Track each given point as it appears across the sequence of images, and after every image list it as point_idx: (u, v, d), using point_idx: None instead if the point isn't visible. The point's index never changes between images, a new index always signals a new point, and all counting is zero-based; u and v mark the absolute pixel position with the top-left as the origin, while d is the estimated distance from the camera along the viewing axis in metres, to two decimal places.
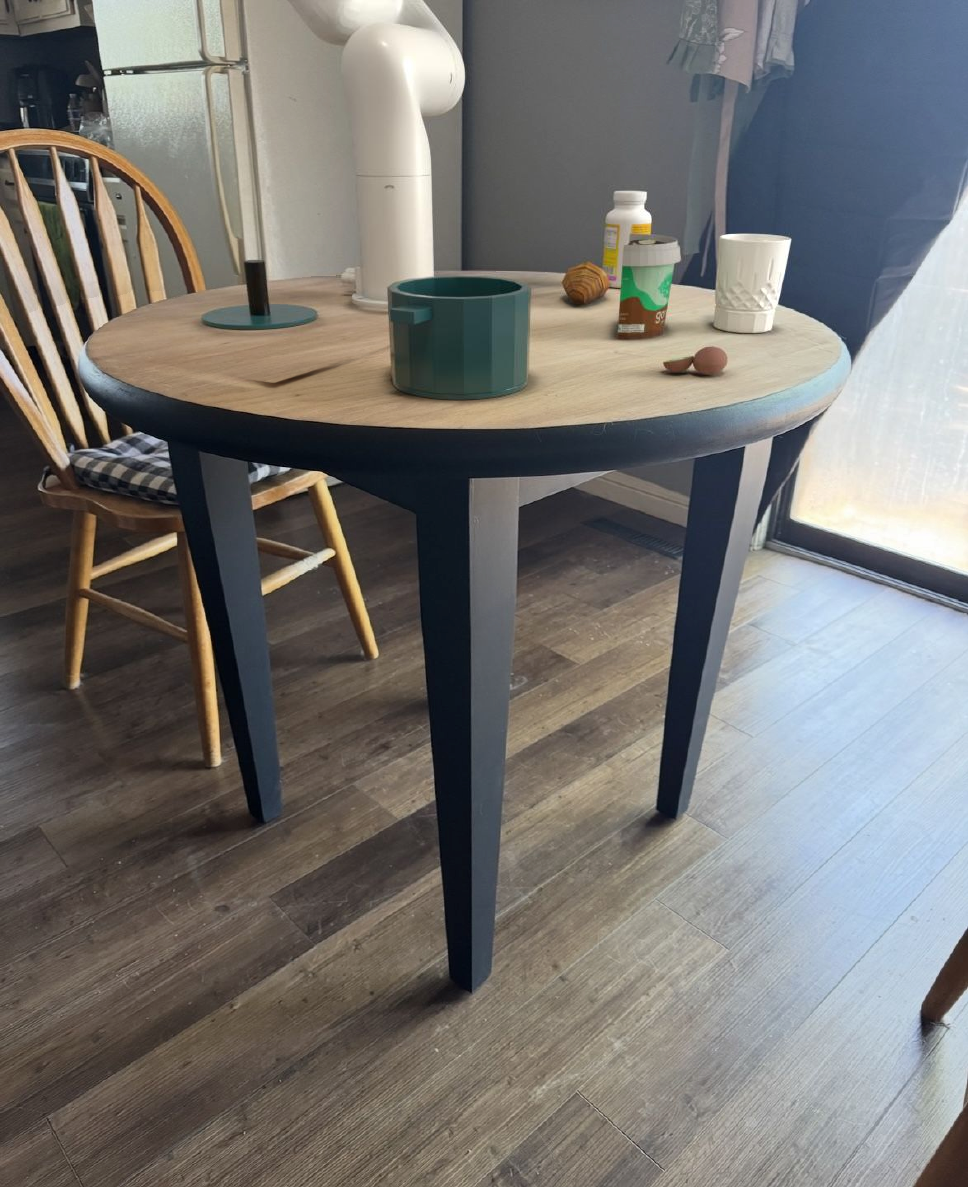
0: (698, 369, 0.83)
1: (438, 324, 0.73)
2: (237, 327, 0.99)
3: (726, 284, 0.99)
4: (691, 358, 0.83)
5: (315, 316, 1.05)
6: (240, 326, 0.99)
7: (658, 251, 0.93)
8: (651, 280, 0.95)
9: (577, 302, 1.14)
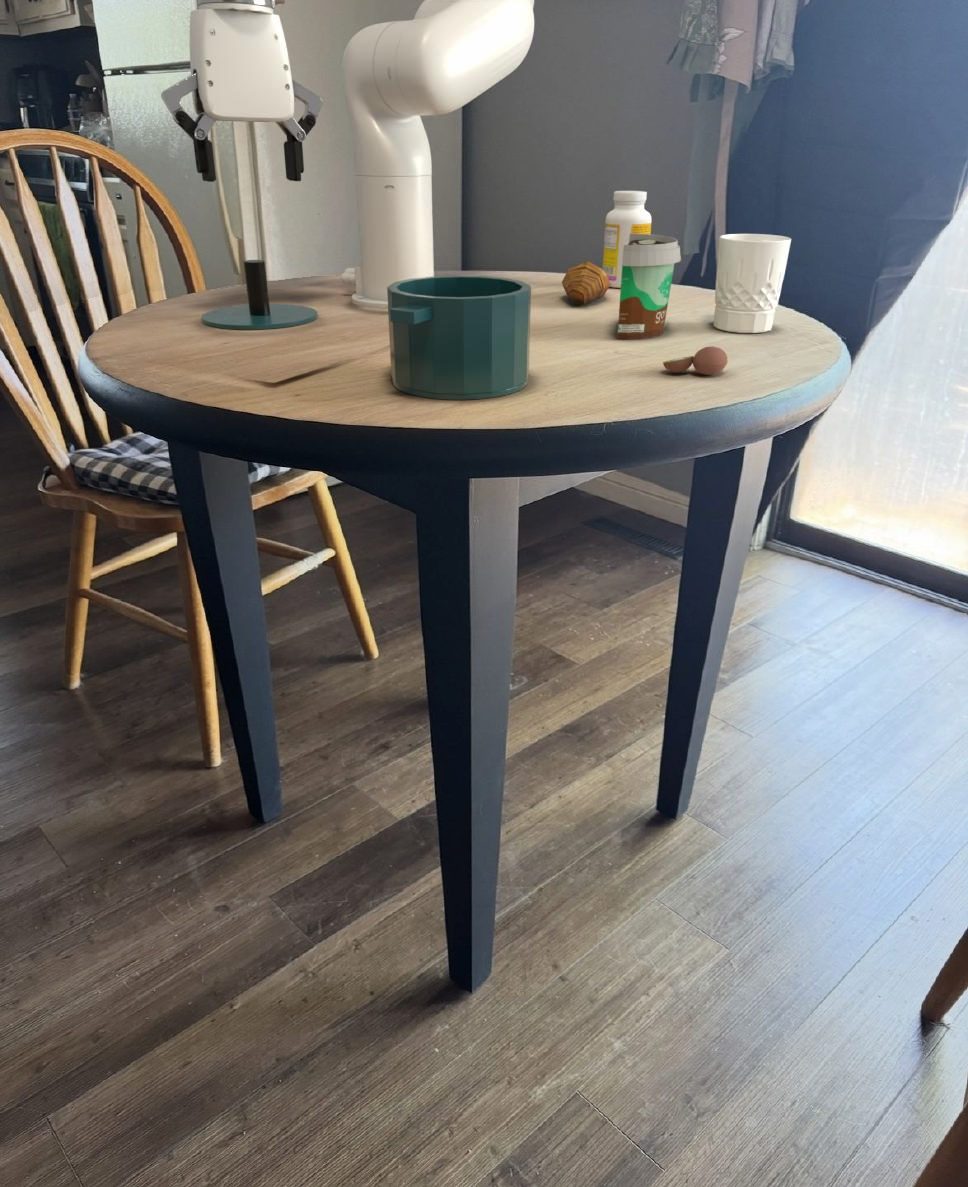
0: (698, 369, 0.83)
1: (438, 324, 0.73)
2: (237, 327, 0.99)
3: (726, 284, 0.99)
4: (691, 358, 0.83)
5: (315, 316, 1.05)
6: (240, 326, 0.99)
7: (658, 251, 0.93)
8: (651, 280, 0.95)
9: (577, 302, 1.14)
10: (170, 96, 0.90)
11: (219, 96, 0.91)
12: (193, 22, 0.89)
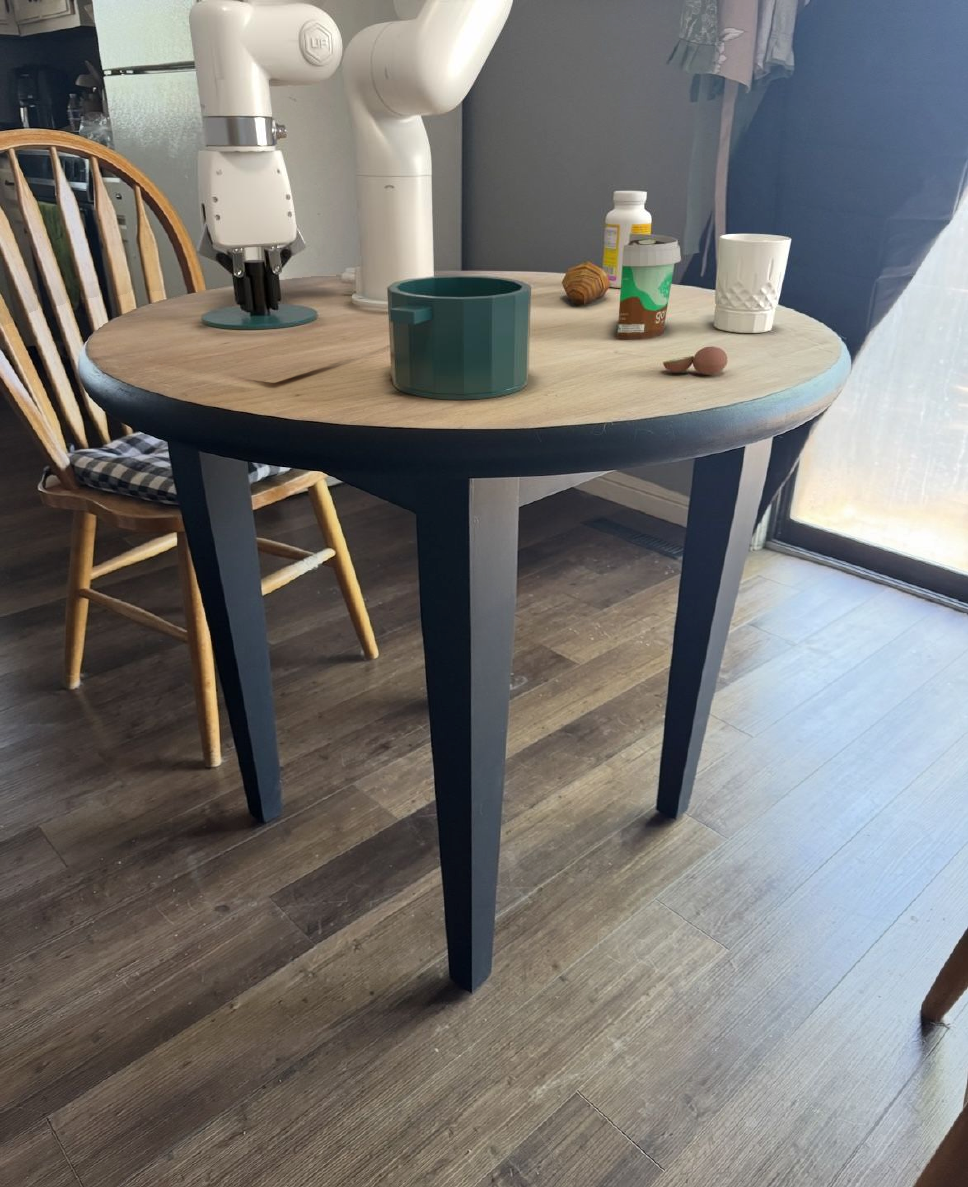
0: (698, 369, 0.83)
1: (438, 324, 0.73)
2: (237, 327, 0.99)
3: (726, 284, 0.99)
4: (691, 358, 0.83)
5: (315, 316, 1.05)
6: (240, 326, 0.99)
7: (658, 251, 0.93)
8: (651, 280, 0.95)
9: (577, 302, 1.14)
10: (205, 250, 0.99)
11: (226, 228, 0.97)
12: (200, 162, 0.95)
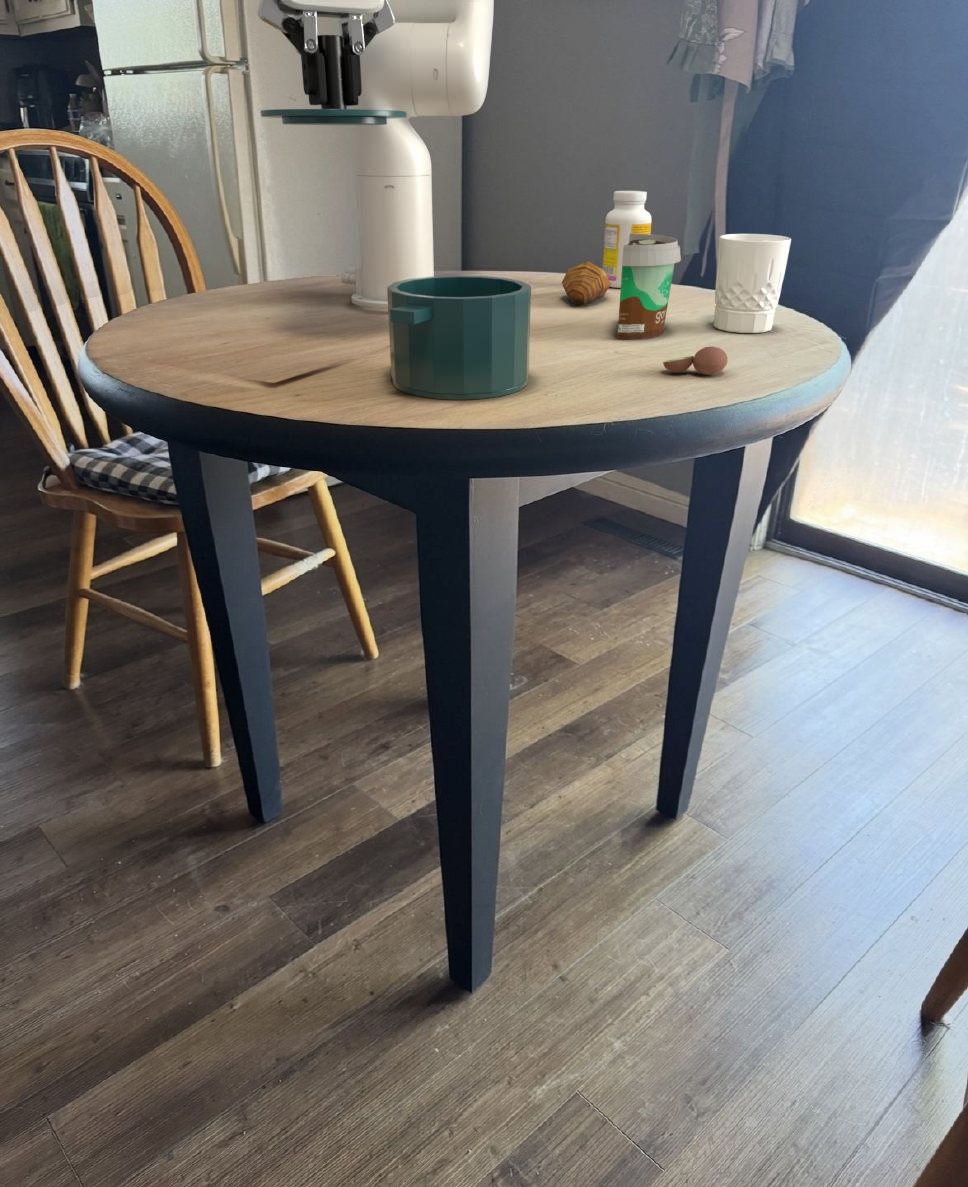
0: (698, 369, 0.83)
1: (438, 324, 0.73)
2: (308, 112, 0.77)
3: (726, 284, 0.99)
4: (691, 358, 0.83)
5: (404, 113, 0.82)
6: (312, 110, 0.77)
7: (658, 251, 0.93)
8: (651, 280, 0.95)
9: (577, 302, 1.14)
10: (269, 11, 0.76)
11: None
12: None
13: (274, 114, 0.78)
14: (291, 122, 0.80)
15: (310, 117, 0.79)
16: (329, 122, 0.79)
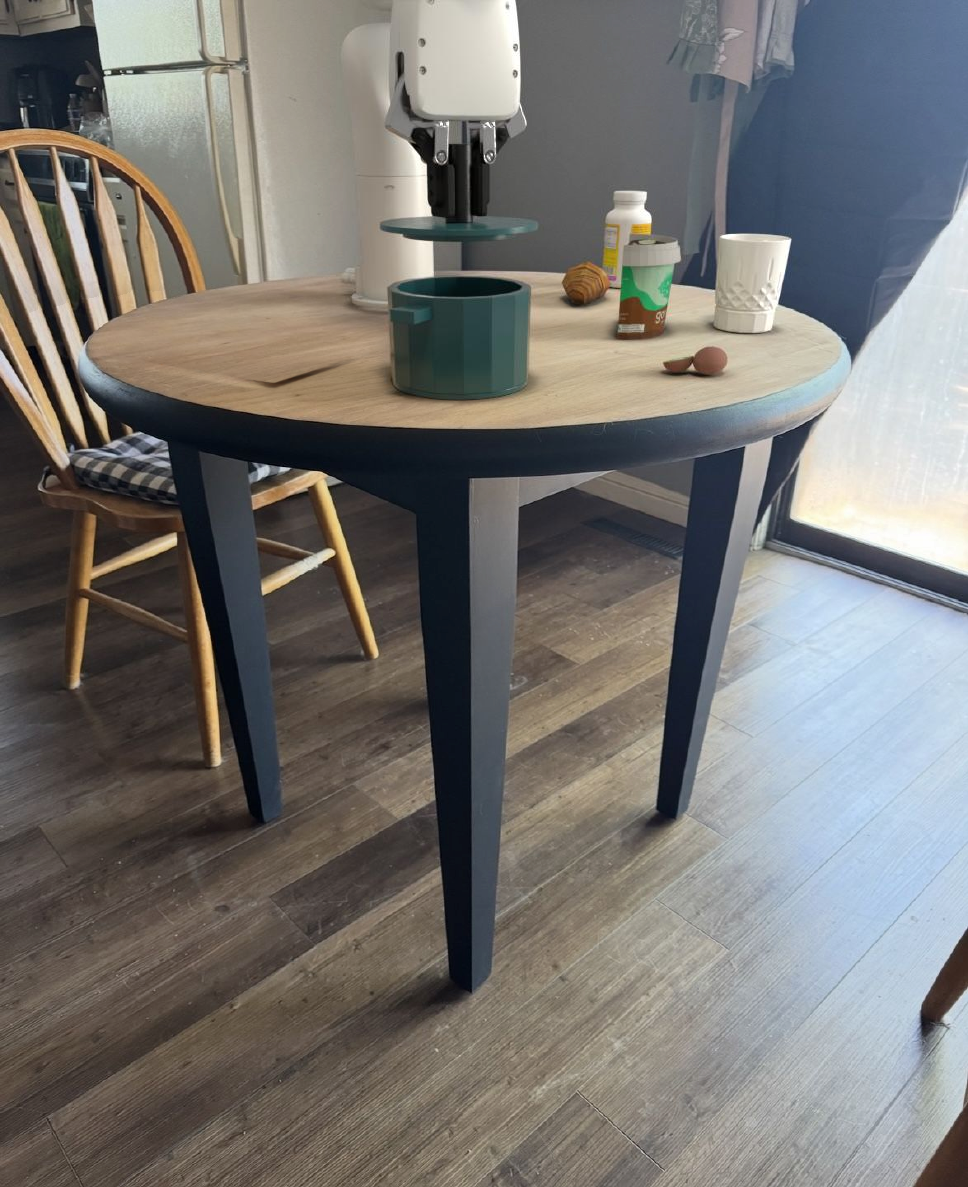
0: (698, 369, 0.83)
1: (438, 324, 0.73)
2: (443, 233, 0.69)
3: (726, 284, 0.99)
4: (691, 358, 0.83)
5: None
6: (447, 231, 0.69)
7: (658, 251, 0.93)
8: (651, 280, 0.95)
9: (577, 302, 1.14)
10: (398, 122, 0.69)
11: (432, 88, 0.67)
12: None
13: (401, 232, 0.71)
14: (417, 238, 0.72)
15: None
16: (461, 240, 0.71)
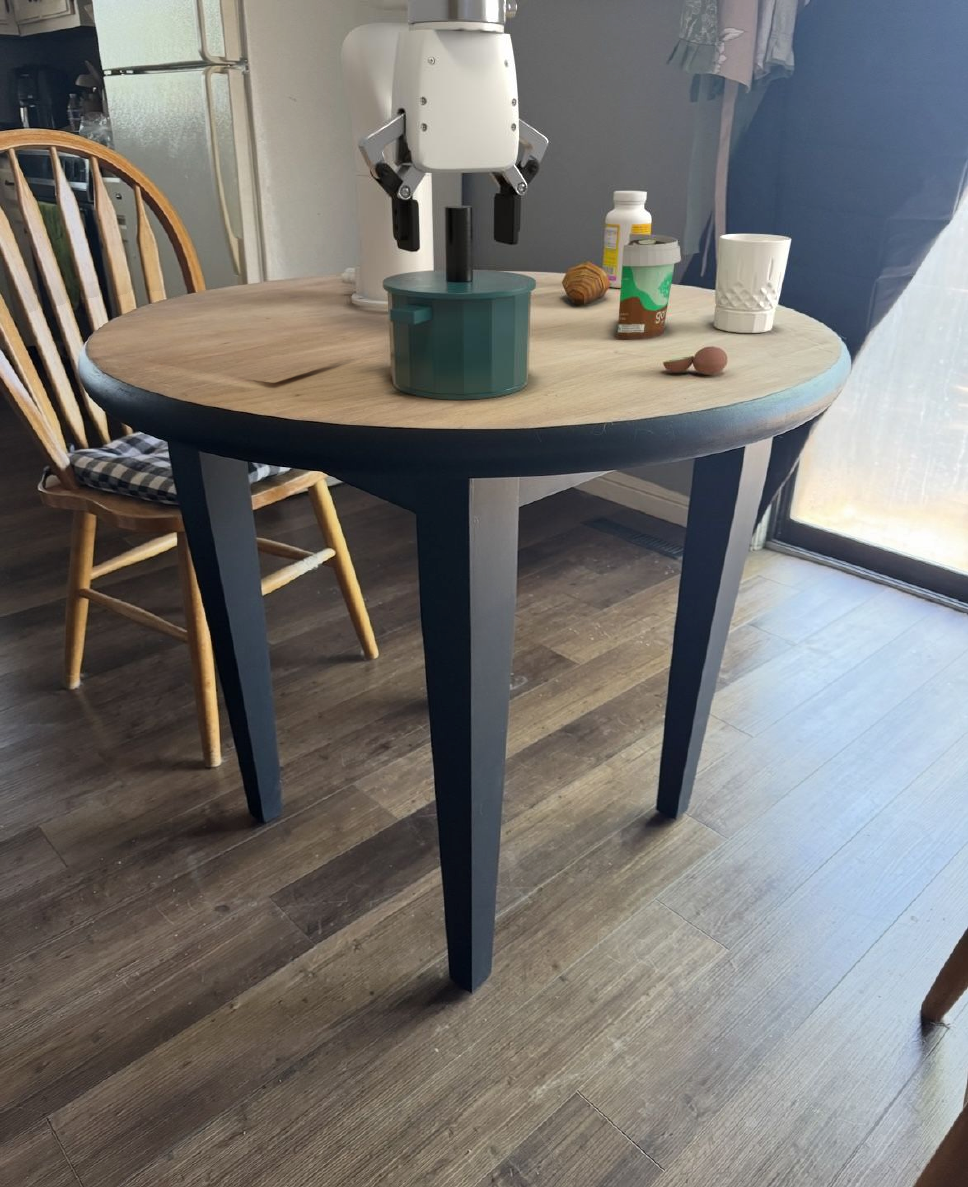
0: (698, 369, 0.83)
1: (438, 324, 0.73)
2: (444, 296, 0.72)
3: (726, 284, 0.99)
4: (691, 358, 0.83)
5: (535, 283, 0.77)
6: (448, 295, 0.72)
7: (658, 251, 0.93)
8: (651, 280, 0.95)
9: (577, 302, 1.14)
10: (372, 145, 0.69)
11: (433, 143, 0.69)
12: (403, 47, 0.67)
13: (403, 294, 0.73)
14: None
15: None
16: None
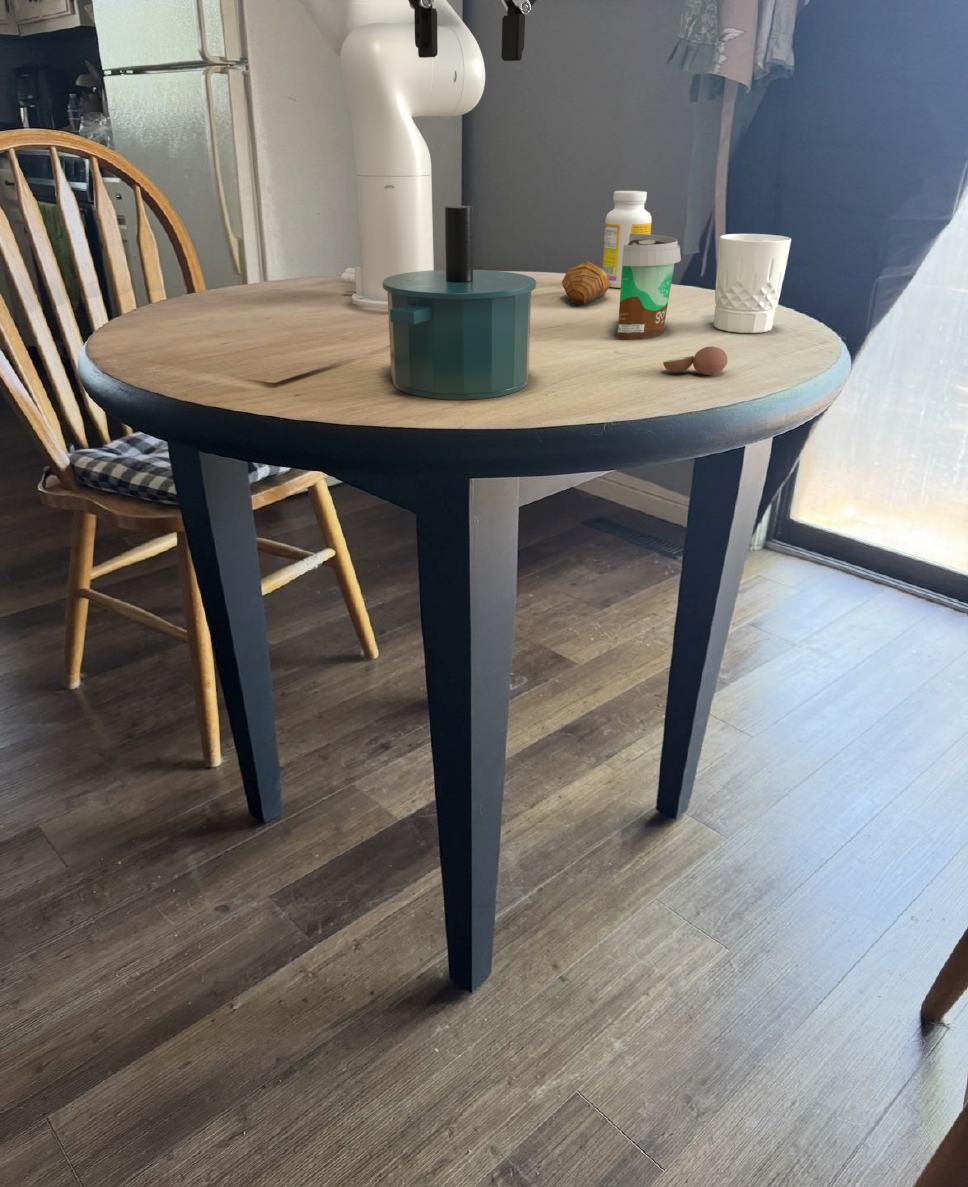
0: (698, 369, 0.83)
1: (438, 324, 0.73)
2: (444, 296, 0.72)
3: (726, 284, 0.99)
4: (691, 358, 0.83)
5: (535, 283, 0.77)
6: (448, 295, 0.72)
7: (658, 251, 0.93)
8: (651, 280, 0.95)
9: (577, 302, 1.14)
10: None
11: None
12: None
13: (403, 294, 0.73)
14: None
15: None
16: None
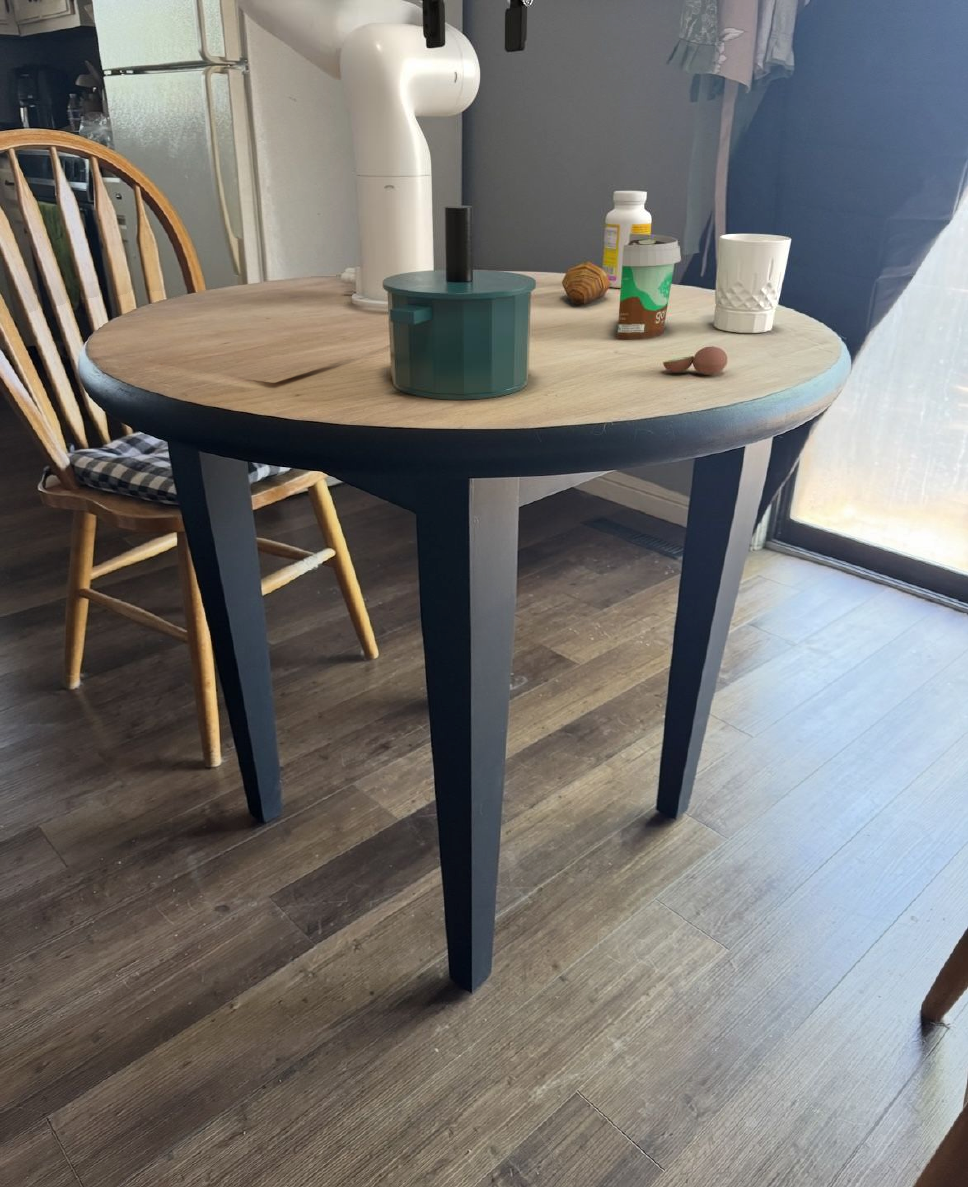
0: (698, 369, 0.83)
1: (438, 324, 0.73)
2: (444, 296, 0.72)
3: (726, 284, 0.99)
4: (691, 358, 0.83)
5: (535, 283, 0.77)
6: (448, 295, 0.72)
7: (658, 251, 0.93)
8: (651, 280, 0.95)
9: (577, 302, 1.14)
10: None
11: None
12: None
13: (403, 294, 0.73)
14: None
15: None
16: None
